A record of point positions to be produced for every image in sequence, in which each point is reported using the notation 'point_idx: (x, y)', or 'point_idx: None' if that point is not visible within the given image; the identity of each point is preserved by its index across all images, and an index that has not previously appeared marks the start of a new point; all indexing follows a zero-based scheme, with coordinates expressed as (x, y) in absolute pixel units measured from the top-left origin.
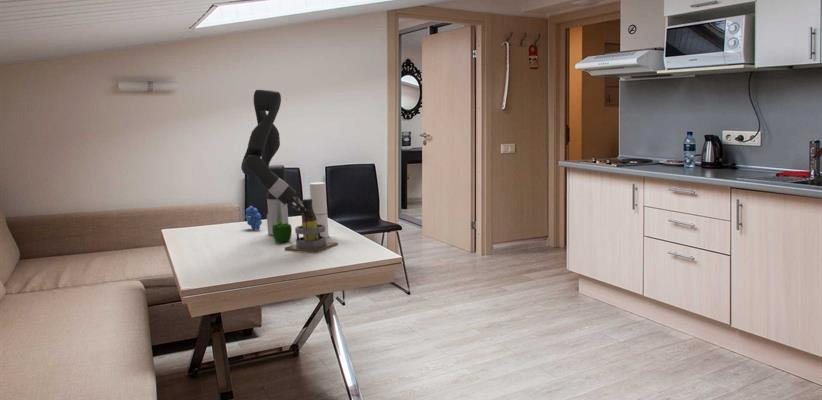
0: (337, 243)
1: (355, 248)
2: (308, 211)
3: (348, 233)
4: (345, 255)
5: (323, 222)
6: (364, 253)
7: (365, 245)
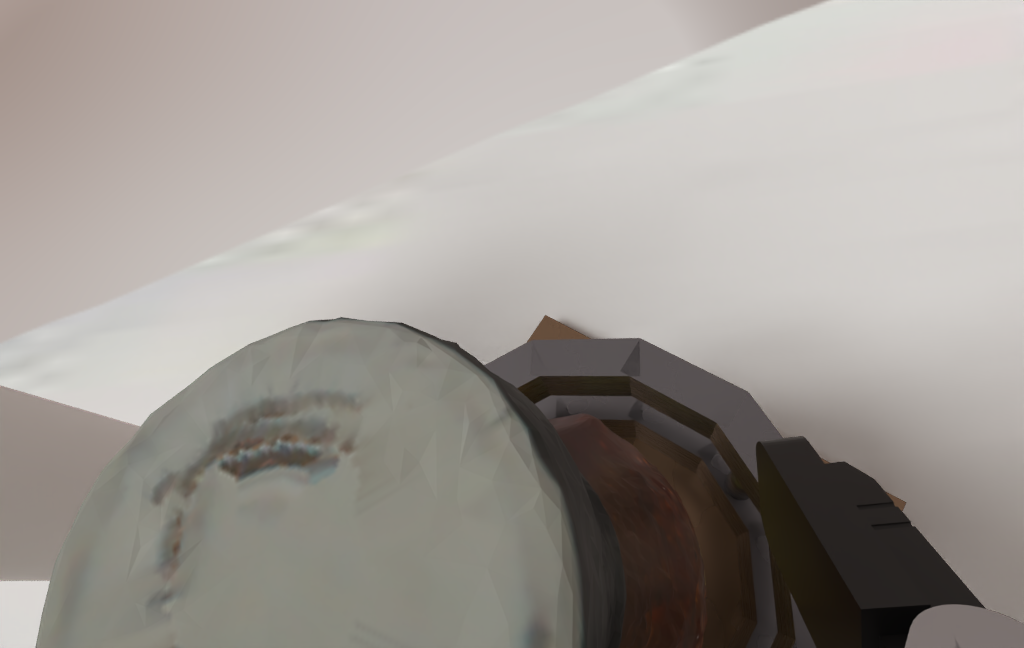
0: (550, 319)
1: (720, 178)
2: (824, 541)
3: (159, 297)
4: (1017, 209)
5: (80, 437)
6: (925, 93)
7: (621, 133)
